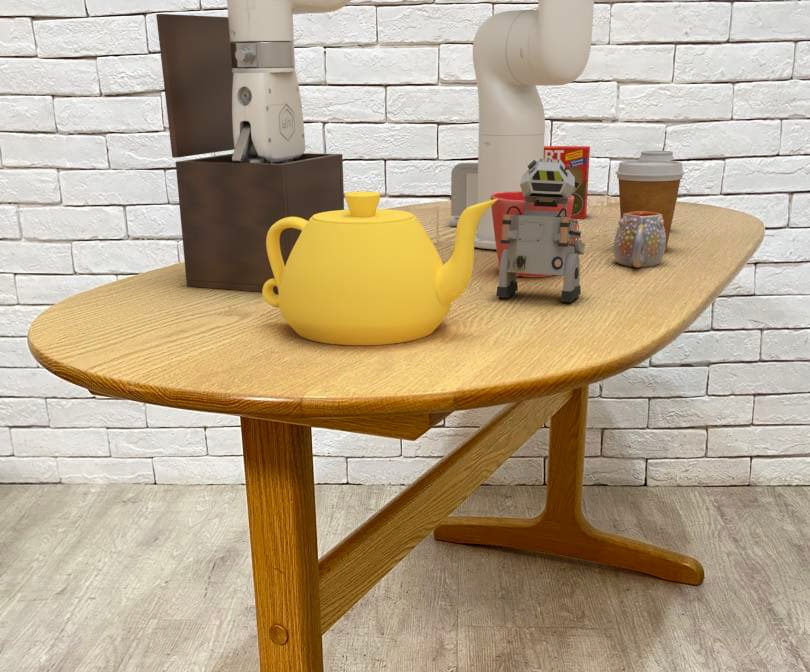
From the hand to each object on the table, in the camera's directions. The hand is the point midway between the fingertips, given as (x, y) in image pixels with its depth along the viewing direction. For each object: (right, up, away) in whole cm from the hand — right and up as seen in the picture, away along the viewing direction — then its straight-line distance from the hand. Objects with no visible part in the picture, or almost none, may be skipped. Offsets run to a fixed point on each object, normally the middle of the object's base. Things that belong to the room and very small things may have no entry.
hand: (272, 215), depth 137 cm
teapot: (+14, -19, -23) cm, 33 cm away
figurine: (+33, -12, -8) cm, 36 cm away
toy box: (+39, +16, +56) cm, 71 cm away
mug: (+48, -4, +9) cm, 49 cm away
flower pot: (+33, -6, +6) cm, 34 cm away
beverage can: (+56, +9, +38) cm, 69 cm away
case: (-1, -7, +3) cm, 8 cm away
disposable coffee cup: (+51, +1, +21) cm, 56 cm away
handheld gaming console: (+31, +13, +48) cm, 59 cm away
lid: (-8, +15, -3) cm, 17 cm away
